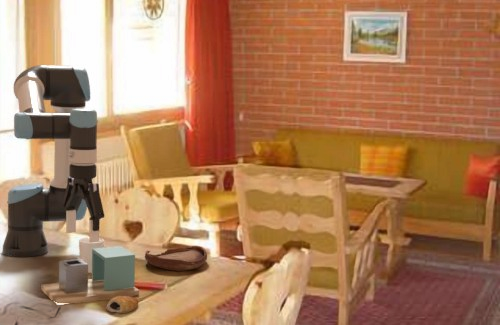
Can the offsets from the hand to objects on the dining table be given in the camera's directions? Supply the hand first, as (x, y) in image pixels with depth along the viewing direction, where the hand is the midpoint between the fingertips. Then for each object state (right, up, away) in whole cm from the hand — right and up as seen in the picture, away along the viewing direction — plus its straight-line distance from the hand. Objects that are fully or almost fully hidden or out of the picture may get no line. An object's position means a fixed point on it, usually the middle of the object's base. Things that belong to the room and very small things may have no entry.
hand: (82, 237), depth 219 cm
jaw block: (-3, -15, +1) cm, 15 cm away
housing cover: (+8, -14, +7) cm, 18 cm away
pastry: (+13, -19, -9) cm, 25 cm away
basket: (+24, -13, +39) cm, 47 cm away
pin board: (+1, -16, +3) cm, 17 cm away
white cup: (-3, -14, +26) cm, 30 cm away
